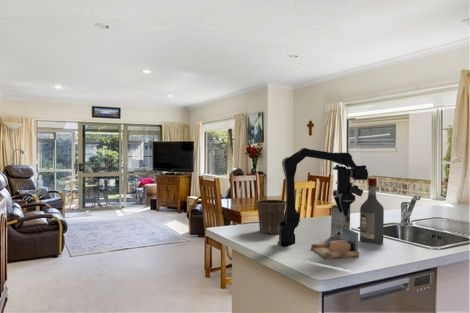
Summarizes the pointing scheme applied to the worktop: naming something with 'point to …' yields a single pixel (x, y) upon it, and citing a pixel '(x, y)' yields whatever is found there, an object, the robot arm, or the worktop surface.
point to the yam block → (339, 246)
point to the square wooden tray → (329, 254)
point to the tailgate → (351, 238)
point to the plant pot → (270, 215)
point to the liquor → (371, 217)
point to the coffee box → (339, 222)
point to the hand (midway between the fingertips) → (343, 214)
